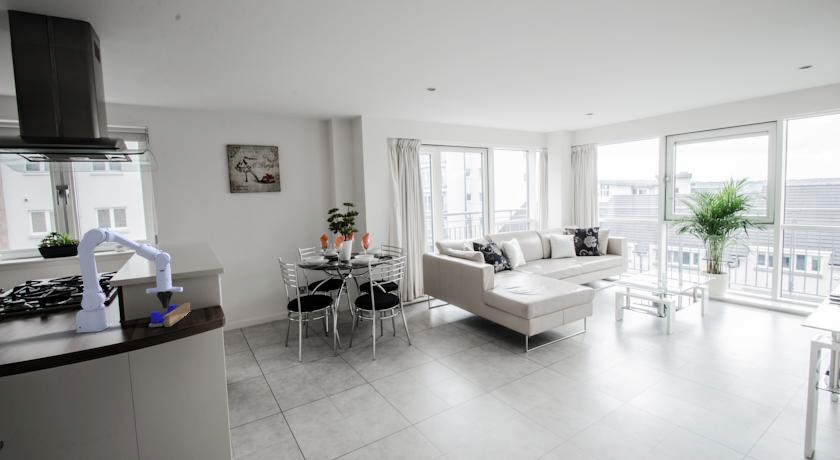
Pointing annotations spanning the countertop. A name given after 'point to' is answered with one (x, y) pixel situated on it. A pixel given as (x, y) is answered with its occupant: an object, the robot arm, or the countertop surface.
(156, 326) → the mounting rail
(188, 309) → the backboard
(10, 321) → the countertop surface
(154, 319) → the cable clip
